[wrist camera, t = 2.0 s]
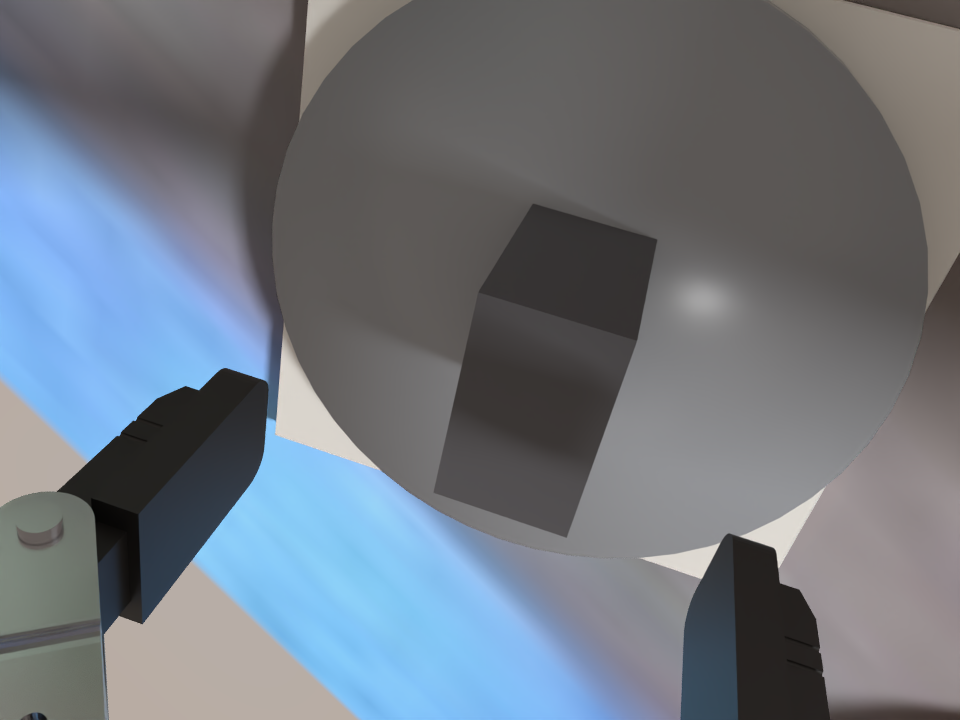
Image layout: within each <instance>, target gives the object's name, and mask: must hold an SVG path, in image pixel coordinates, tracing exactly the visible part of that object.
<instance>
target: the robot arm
mask: <svg viewBox="0 0 960 720" xmlns="http://www.w3.org/2000/svg"><path fill="white" fill-rule="evenodd" d="M267 405H268V384H267V382H266V381H264V380H261V379H258V378H255V377H252V376H249V375H246V374H243V373H240V372H237V371H234V370H231V369H227V368H223V369H221V370H220V371H218V372H217V373H216V374H215V375H214V376H213V377H212V378H211V379H210V380H209V381H208V382H207V383H206V384H205V385H204V386H203V387H202V388H201V389H200V390H196V389H193V388H190V387H187V386H185V387H182V388H180V389H178V390H176V391H173V392H171V393H169V394H167V395H164V396H162V397H160V398H157V399H156V400H155V401H154V402H153V403H152V404H151V405H150V406H149V407H148V408H146V409H145V410H144V411H143V412H142V413H141V414H140V415H139V416H138V417H137V420H136V421H132V422H131V423H130V424H129V425H128V426H127V427H126V428H125V429H124V430H123V431H122V432H121V435H120V436H116V437H115V438H114V439H113V440H112V441H111V442H110V443H109V444H108V445H107V446H106V447H104V448H103V449H102V450H101V451H100V452H99V453H98V454H97V455H96V456H95V457H94V458H93V459H92V460H90V461H89V462H88V463H87V464H86V465H85V466H84V467H83V468H82V469H81V470H80V471H79V472H78V473H77V474H76V475H74V476H73V477H72V478H71V479H70V480H69V481H68V482H67V483H66V484H65V485H64V486H62V487H61V488H60V489H59V490H58V491H57V492H38V493H32V494H28V495H25V496H21V497H19V498H16V499H14V500H12V501H10V502H8V503H6V504H5V505H3V506H2V507H0V720H109V713H108V696H107V679H106V662H105V646H104V634H105V632H106V631H107V630H108V629H109V627H110V626H111V625H112V624H113V622H114V621H115V620H116V619H117V617H118V616H121V617H124V618H126V619H129V620H132V621H135V622H138V623H140V624H143V623H144V622H145V620H146V619H147V618H148V617H149V615H150V614H151V613H152V611H153V610H154V609H155V607H156V606H157V605H158V604H159V602H160V601H161V600H162V598H163V597H164V596H165V594H166V593H167V592H168V591H169V589H170V588H171V586H172V585H173V584H174V583H175V581H176V580H177V579H178V578H179V576H180V575H181V573H182V572H183V571H184V570H185V568H186V567H187V566H188V565H189V563H190V562H191V561H192V559H193V558H194V557H195V555H196V554H197V553H198V552H199V550H200V549H201V548H202V546H203V545H204V544H205V542H206V541H207V540H208V539H209V537H210V536H211V535H212V533H213V532H214V531H215V529H216V528H217V527H218V526H219V524H220V523H221V522H222V520H223V519H224V518H225V516H226V515H227V514H228V513H229V511H230V510H231V509H232V507H233V506H234V505H235V503H236V502H237V501H238V500H239V498H240V497H241V496H242V494H243V493H244V492H245V490H246V489H247V488H248V487H249V485H250V484H251V482H252V481H253V479H254V477H255V475H256V473H257V471H258V469H259V466H260V464H261V461H262V457H263V453H264V444H265V431H266V418H267ZM819 649H820V644H819V637H818V630H817V623H816V618H815V617H814V615H813V613H812V611H811V609H810V608H809V606H808V604H807V602H806V601H805V599H804V597H803V595H802V593H801V592H800V590H798V589H795V588H792V587H789V586H786V585H783V584H780V582H779V572H778V561H777V553H776V550H775V549H774V548H773V547H770V546H767V545H764V544H761V543H758V542H755V541H752V540H749V539H746V538H742V537H739V536H736V535H733V534H730V533H728V534H726V535H725V537H724V538H723V539H722V541H721V543H720V545H719V547H718V549H717V551H716V553H715V555H714V557H713V558H712V560H711V562H710V564H709V566H708V568H707V570H706V572H705V574H704V576H703V578H702V580H701V582H700V584H699V585H698V587H697V589H696V591H695V593H694V595H693V598H692V600H691V603H690V606H689V609H688V613H687V617H686V622H685V628H684V647H683V672H682V698H681V720H830V716H829V709H828V702H827V695H826V687H825V680H824V677H822V673H823V666H822V659H821V653H819Z"/></svg>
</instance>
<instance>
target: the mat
mask: <svg viewBox="0 0 960 720" xmlns="http://www.w3.org/2000/svg"><path fill="white" fill-rule="evenodd" d="M411 1H412V0H308V12H307V25H306V38H305V52H304V65H303V78H302V91H301V104H300V117H299V121H300V119H301V116H302V114H303V112H304V111H305V109H306V108H307V106H308V104H309V103H310V101H311V100H312V98H313V96H314V95H315V93H316V91H317V90H318V88H319V87H320V85H321V83H322V82H323V80H324V79H325V78H326V76H327V75H328V74H329V73H330V72H331V70H332V69H333V68H334V67H335V66H336V65H337V63H338V62H339V61H340V60H341V59H342V58H343V56H344V55H345V54H346V53H347V52H348V51H349V49H350V48H351V47H352V46H353V45H354V44H355V43H357V42H358V41H359V40H360V39H361V38H362V37H363V36H365V35H366V34H367V33H368V32H369V31H370V30H372V29H373V28H374V27H375V26H376V25H377V24H378V23H380V22H381V21H382V20H383V19H384V18H385V17H387V16H389V15H390V14H392V13H393V12H395V11H396V10H398V9H400V8H401V7H403V6H404V5H406V4H407V3H409V2H411ZM769 1H770V2H772V3H773V4H775V5H776V6H777V7H779V8H780V9H782V10H783V11H784V12H786V13H787V14H789V15H790V16H792V17H793V18H794V19H796V20H797V21H799V22H800V23H801V24H803V25H804V26H806V27H807V28H808V29H809V30H810V31H811V32H812V33H814V34H815V35H816V36H817V37H818V38H819V39H820V40H821V41H822V42H823V43H824V44H825V45H826V46H827V47H828V48H829V49H830V50H831V51H832V52H833V53H834V54H835V55H836V56H837V57H838V58H839V59H840V60H841V61H842V62H843V63H844V64H845V65H846V67H847V68H848V69H849V71H850V72H851V73H852V74H853V76H854V77H855V78H856V80H857V81H858V82H859V84H860V85H861V86H862V88H863V89H864V90H865V92H866V93H867V94H868V96H869V97H870V98H871V100H872V101H873V102H874V104H875V105H876V107H877V108H878V110H879V111H880V113H881V114H882V116H883V118H884V120H885V122H886V124H887V125H888V127H889V129H890V131H891V133H892V135H893V137H894V139H895V141H896V142H897V144H898V146H899V148H900V150H901V152H902V154H903V156H904V157H905V160H906V163H907V166H908V169H909V172H910V175H911V178H912V181H913V184H914V187H915V190H916V192H917V195H918V198H919V201H920V206H921V211H922V217H923V223H924V229H925V235H926V241H927V247H928V296H927V303H926V309H925V312H926V310H927V308H928V307H929V305H930V303H931V301H932V300H933V298H934V296H935V294H936V293H937V291H938V289H939V287H940V286H941V284H942V282H943V281H944V279H945V277H946V275H947V274H948V272H949V270H950V268H951V267H952V265H953V263H954V261H955V260H956V258H957V256H958V254H959V253H960V29H957V28H953V27H949V26H945V25H941V24H937V23H933V22H929V21H925V20H921V19H917V18H913V17H909V16H905V15H901V14H897V13H893V12H889V11H885V10H881V9H877V8H873V7H869V6H865V5H861V4H857V3H853V2H849V1H845V0H769ZM275 435H277V436H280V437H283V438H286V439H289V440H292V441H295V442H298V443H301V444H304V445H307V446H310V447H313V448H316V449H319V450H322V451H325V452H327V453H330V454H333V455H336V456H339V457H342V458H345V459H348V460H351V461H354V462H357V463H360V464H363V465H366V466H369V467H372V468H375V469H378V470H380V469H379V468H378V467H377V466H376V465H375V464H374V463H373V462H372V461H371V460H370V459H369V458H367V457H366V456H365V455H364V454H363V453H362V452H361V451H360V450H359V449H358V448H357V447H356V446H355V445H354V443H353V442H352V441H351V440H350V439H349V437H348V436H347V435H346V434H345V433H344V432H343V430H342V429H341V428H340V427H339V426H338V424H337V423H336V422H335V421H334V420H333V418H332V417H331V415H330V414H329V412H328V411H327V409H326V408H325V406H324V405H323V403H322V402H321V400H320V399H319V397H318V396H317V395H316V393H315V391H314V390H313V388H312V386H311V384H310V382H309V380H308V378H307V376H306V374H305V373H304V371H303V369H302V367H301V365H300V363H299V361H298V359H297V356H296V354H295V351H294V348H293V346H292V343H291V341H290V338H289V336H288V333H287V331H286V328H285V324H284V327H283V340H282V353H281V366H280V379H279V392H278V406H277V419H276V432H275ZM824 488H825V487H824ZM824 488H823V489H822V490H820V491H819V492H818V493H817V494H816V495H814V496H813V497H812V498H811V499H809V500H807V501H806V502H804V503H803V504H801V505H799V506H798V507H796V508H795V509H793V510H792V511H790V512H788V513H787V514H785V515H784V516H782V517H781V518H779V519H777V520H774V521H772V522H770V523H768V524H766V525H764V526H762V527H760V528H758V529H756V530H753V531H751V532H749V533H747V534H745V535H742V536H739V537H742V538H746V539H749V540H752V541H755V542H758V543H761V544H764V545H767V546H770V547H773V548H774V549H775V550H776V553H777V561H778V568H779V567H780V565H781V563H782V562H783V560H784V558H785V556H786V555H787V553H788V551H789V549H790V548H791V546H792V544H793V542H794V541H795V539H796V537H797V535H798V534H799V532H800V530H801V528H802V527H803V525H804V523H805V521H806V520H807V518H808V516H809V514H810V513H811V511H812V509H813V507H814V506H815V504H816V502H817V500H818V499H819V497H820V495H821V493H822V492H823V490H824ZM719 545H720V543H718V544H715V545H712V546H709V547H704V548H700V549H695V550H691V551H686V552H682V553H677V554H670V555H661V556H653V557H644V558H641V559H644V560H647V561H650V562H653V563H656V564H659V565H662V566H665V567H668V568H671V569H674V570H677V571H680V572H683V573H686V574H688V575H691V576H694V577H697V578H700V579H702V578H703V576H704V574H705V572H706V570H707V568H708V566H709V564H710V562H711V560H712V558H713V557H714V555H715V553H716V551H717V549H718V547H719Z"/></svg>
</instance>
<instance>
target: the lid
mask: <svg viewBox="0 0 960 720" xmlns="http://www.w3.org/2000/svg"><path fill="white" fill-rule="evenodd" d="M272 261H273V269H274V276H275V284H276V291H277V297H278V301H279V305H280V308H281V312H282V316H283V320H284V324H285V328H286V331H287V333H288V336H289V338H290V341H291V343H292V346H293V348H294V351H295V354H296V356H297V359H298V361H299V363H300V365H301V367H302V369H303V371H304V373H305V374H306V376H307V378H308V380H309V382H310V384H311V386H312V388H313V390H314V391H315V393H316V395H317V396H318V397H319V399H320V400H321V402H322V403H323V405H324V406H325V408H326V409H327V411H328V412H329V414H330V415H331V417H332V418H333V420H334V421H335V422H336V423H337V424H338V426H339V427H340V428H341V429H342V430H343V432H344V433H345V434H346V435H347V436H348V437H349V439H350V440H351V441H352V442H353V443H354V445H355V446H356V447H357V448H358V449H359V450H360V451H361V452H362V453H363V454H364V455H365V456H366V457H367V458H369V459H370V460H371V461H372V462H373V463H374V464H375V465H376V466H377V467H378V468H379V469H380V470H381V471H382V472H384V473H385V474H386V475H387V476H389V477H390V478H391V479H392V480H394V481H395V482H396V483H397V484H399V485H400V486H401V487H403V488H404V489H405V490H406V491H408V492H409V493H411V494H412V495H414V496H415V497H417V498H418V499H420V500H422V501H423V502H425V503H426V504H428V505H429V506H431V507H433V508H434V509H436V510H437V511H439V512H441V513H443V514H445V515H447V516H449V517H451V518H453V519H455V520H457V521H459V522H461V523H463V524H465V525H467V526H469V527H471V528H474V529H476V530H479V531H481V532H484V533H486V534H489V535H491V536H494V537H496V538H499V539H502V540H505V541H509V542H512V543H516V544H519V545H523V546H526V547H530V548H533V549H538V550H543V551H548V552H554V553H559V554H564V555H571V556H582V557H594V558H644V557H653V556H661V555H670V554H677V553H682V552H686V551H691V550H695V549H700V548H704V547H709V546H712V545H715V544H718V543H721V541H722V539H723V538H724V537H725V535H726V534H728V533H730V534H733V535H736V536H742V535H745V534H747V533H749V532H751V531H753V530H756V529H758V528H760V527H762V526H764V525H766V524H768V523H770V522H772V521H774V520H777V519H779V518H781V517H782V516H784V515H785V514H787V513H788V512H790V511H792V510H793V509H795V508H796V507H798V506H799V505H801V504H803V503H804V502H806V501H807V500H809V499H811V498H812V497H813V496H814V495H816V494H817V493H818V492H819V491H820V490H822V489H823V488H824V487H825V486H827V485H828V484H829V483H830V482H831V481H833V480H834V479H835V478H836V477H837V476H839V475H840V474H841V473H842V472H843V471H844V470H845V469H846V468H847V467H848V466H849V464H850V463H851V462H852V461H853V460H854V459H855V458H856V457H857V456H858V455H859V454H860V453H861V451H862V450H863V449H864V448H865V447H866V446H867V445H868V444H869V442H870V441H871V439H872V438H873V436H874V435H875V434H876V432H877V431H878V429H879V428H880V426H881V425H882V424H883V422H884V421H885V419H886V418H887V416H888V415H889V413H890V412H891V410H892V408H893V406H894V404H895V402H896V400H897V398H898V396H899V394H900V392H901V390H902V388H903V386H904V384H905V382H906V380H907V378H908V376H909V373H910V370H911V367H912V364H913V360H914V357H915V354H916V351H917V348H918V345H919V342H920V339H921V335H922V329H923V322H924V316H925V309H926V303H927V296H928V247H927V241H926V235H925V229H924V223H923V217H922V211H921V206H920V201H919V198H918V195H917V192H916V190H915V187H914V184H913V181H912V178H911V175H910V172H909V169H908V166H907V163H906V160H905V157H904V156H903V154H902V152H901V150H900V148H899V146H898V144H897V142H896V141H895V139H894V137H893V135H892V133H891V131H890V129H889V127H888V125H887V124H886V122H885V120H884V118H883V116H882V114H881V113H880V111H879V110H878V108H877V107H876V105H875V104H874V102H873V101H872V100H871V98H870V97H869V96H868V94H867V93H866V92H865V90H864V89H863V88H862V86H861V85H860V84H859V82H858V81H857V80H856V78H855V77H854V76H853V74H852V73H851V72H850V71H849V69H848V68H847V67H846V65H845V64H844V63H843V62H842V61H841V60H840V59H839V58H838V57H837V56H836V55H835V54H834V53H833V52H832V51H831V50H830V49H829V48H828V47H827V46H826V45H825V44H824V43H823V42H822V41H821V40H820V39H819V38H818V37H817V36H816V35H815V34H814V33H812V32H811V31H810V30H809V29H808V28H807V27H806V26H804V25H803V24H801V23H800V22H799V21H797V20H796V19H794V18H793V17H792V16H790V15H789V14H787V13H786V12H784V11H783V10H782V9H780V8H779V7H777V6H776V5H775V4H773V3H772V2H770V1H769V0H412V1H411V2H409V3H407V4H406V5H404V6H403V7H401V8H400V9H398V10H396V11H395V12H393V13H392V14H390V15H389V16H387V17H385V18H384V19H383V20H382V21H381V22H380V23H378V24H377V25H376V26H375V27H374V28H373V29H372V30H370V31H369V32H368V33H367V34H366V35H365V36H363V37H362V38H361V39H360V40H359V41H358V42H357V43H355V44H354V45H353V46H352V47H351V48H350V49H349V51H348V52H347V53H346V54H345V55H344V56H343V58H342V59H341V60H340V61H339V62H338V63H337V65H336V66H335V67H334V68H333V69H332V70H331V72H330V73H329V74H328V75H327V76H326V78H325V79H324V80H323V82H322V83H321V85H320V87H319V88H318V90H317V91H316V93H315V95H314V96H313V98H312V100H311V101H310V103H309V104H308V106H307V108H306V109H305V111H304V112H303V114H302V116H301V119H300V121H299V123H298V126H297V128H296V130H295V133H294V135H293V137H292V139H291V142H290V144H289V146H288V149H287V152H286V155H285V159H284V163H283V166H282V170H281V173H280V177H279V181H278V184H277V190H276V198H275V205H274V213H273V220H272Z"/></svg>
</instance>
